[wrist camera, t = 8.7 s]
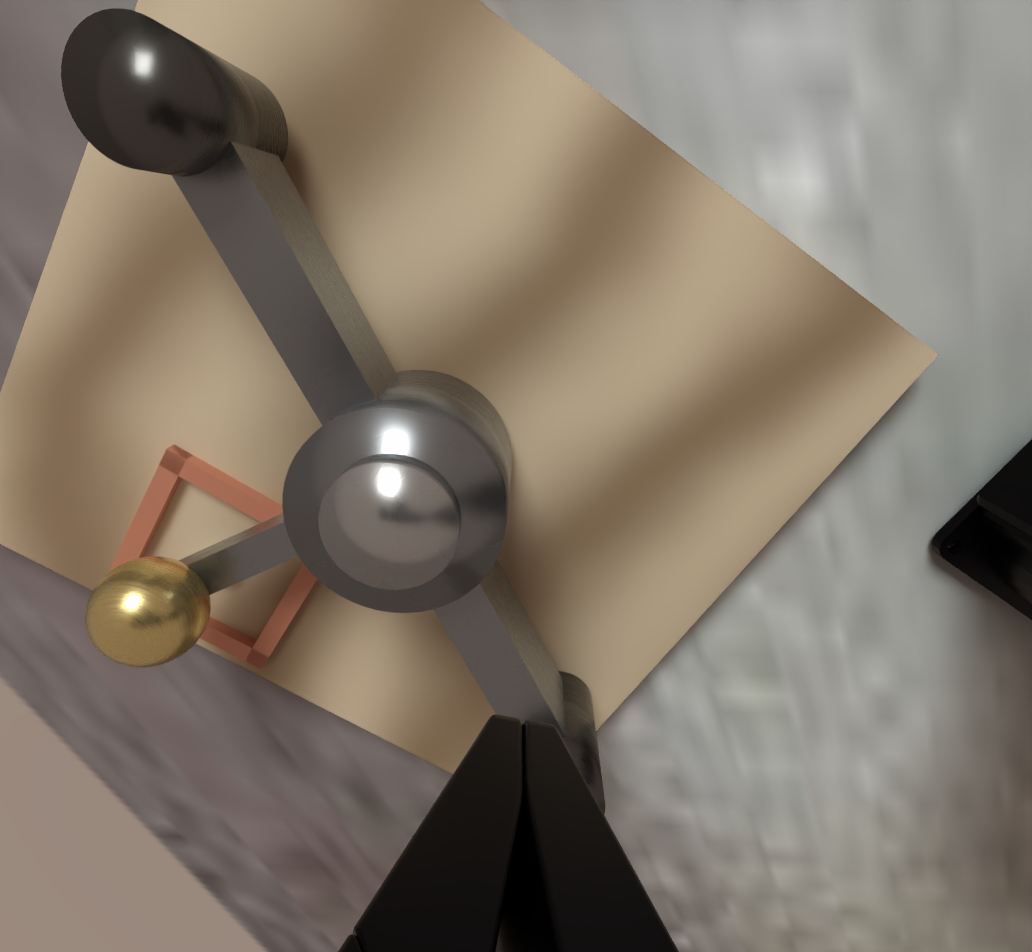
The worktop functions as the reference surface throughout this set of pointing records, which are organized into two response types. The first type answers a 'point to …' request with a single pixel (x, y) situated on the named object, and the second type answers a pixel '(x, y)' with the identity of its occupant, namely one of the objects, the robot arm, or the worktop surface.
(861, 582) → the worktop surface
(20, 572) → the worktop surface
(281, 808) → the worktop surface
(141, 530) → the level window
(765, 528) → the board
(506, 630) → the bell crank
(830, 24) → the worktop surface
